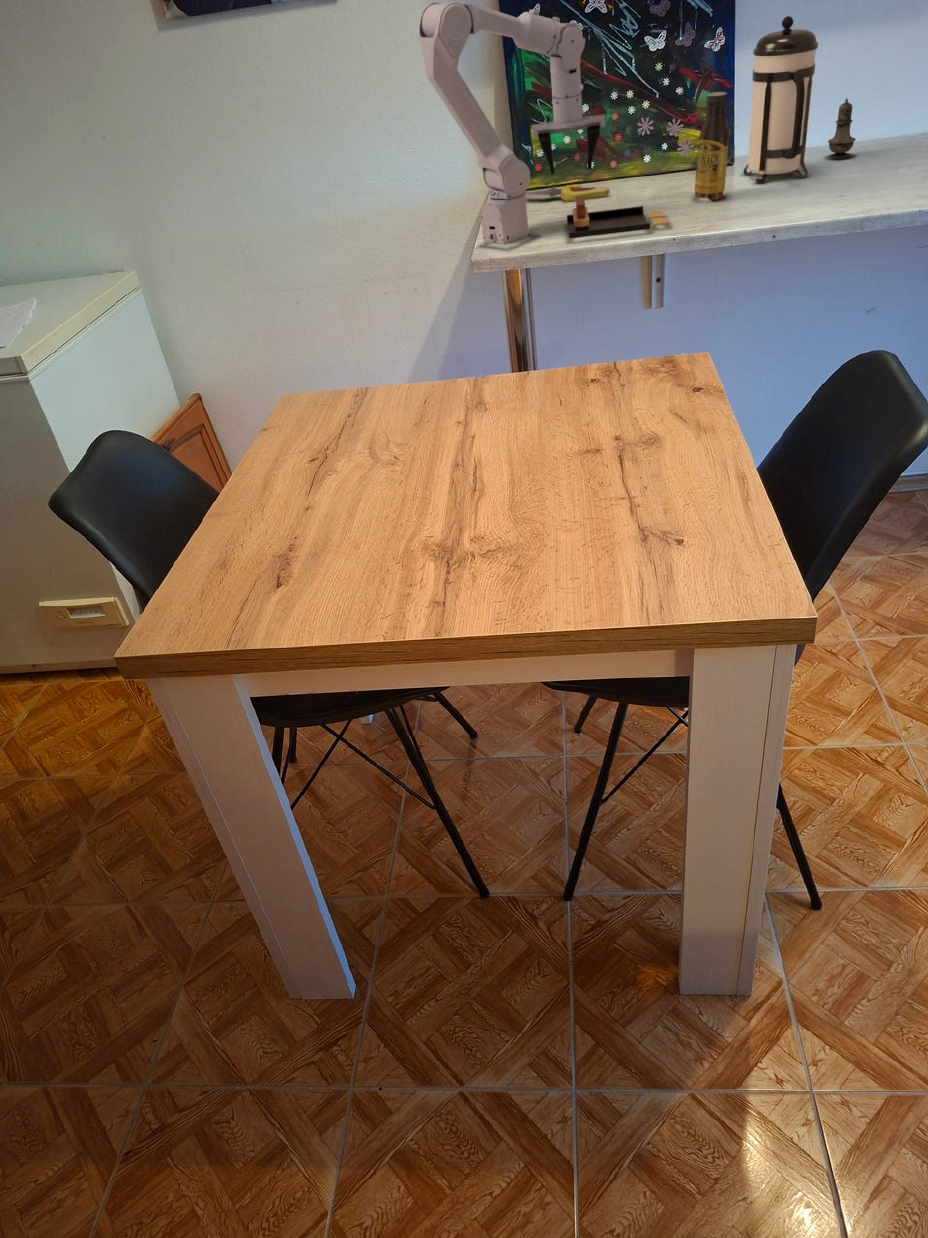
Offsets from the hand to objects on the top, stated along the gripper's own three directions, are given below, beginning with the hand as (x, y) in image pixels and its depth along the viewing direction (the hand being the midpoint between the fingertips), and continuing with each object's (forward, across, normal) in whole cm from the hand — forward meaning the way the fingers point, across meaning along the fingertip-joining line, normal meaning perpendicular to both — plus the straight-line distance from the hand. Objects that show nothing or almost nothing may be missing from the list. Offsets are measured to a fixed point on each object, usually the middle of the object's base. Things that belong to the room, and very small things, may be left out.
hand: (570, 170), depth 181 cm
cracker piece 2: (+10, +17, -10) cm, 22 cm away
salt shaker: (+11, +63, +30) cm, 70 cm away
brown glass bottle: (+11, +30, +7) cm, 32 cm away
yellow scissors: (+11, -3, +23) cm, 26 cm away
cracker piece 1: (+10, +17, -5) cm, 20 cm away
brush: (+9, +1, -8) cm, 12 cm away
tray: (+10, +7, -8) cm, 14 cm away
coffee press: (+11, +46, +19) cm, 51 cm away
